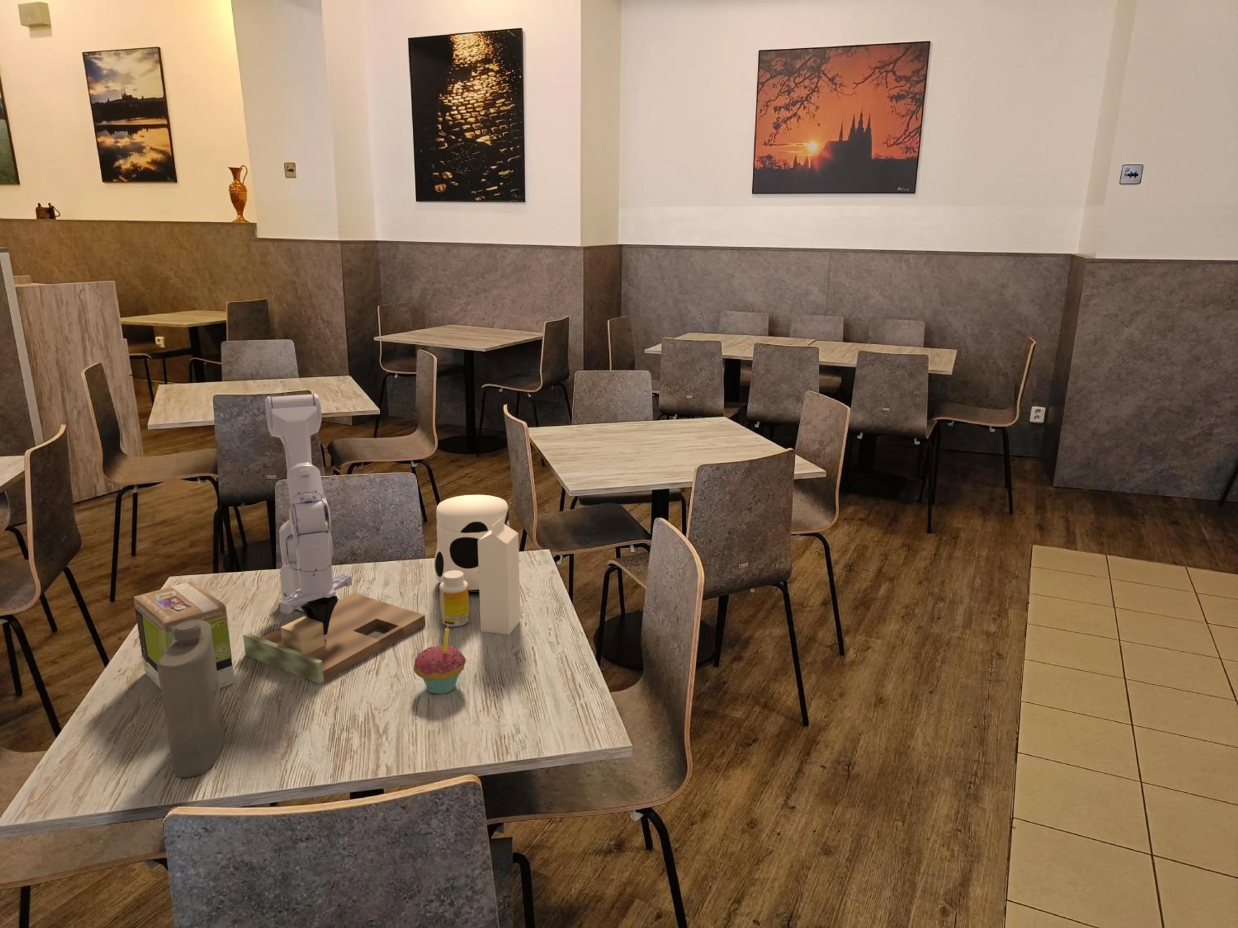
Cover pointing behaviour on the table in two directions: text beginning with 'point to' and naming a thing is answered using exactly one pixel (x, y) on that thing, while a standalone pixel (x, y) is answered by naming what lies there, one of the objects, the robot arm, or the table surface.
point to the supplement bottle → (454, 599)
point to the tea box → (171, 609)
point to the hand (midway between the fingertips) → (321, 633)
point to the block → (303, 635)
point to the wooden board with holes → (339, 638)
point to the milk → (499, 579)
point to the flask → (192, 699)
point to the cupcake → (440, 666)
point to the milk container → (465, 533)
